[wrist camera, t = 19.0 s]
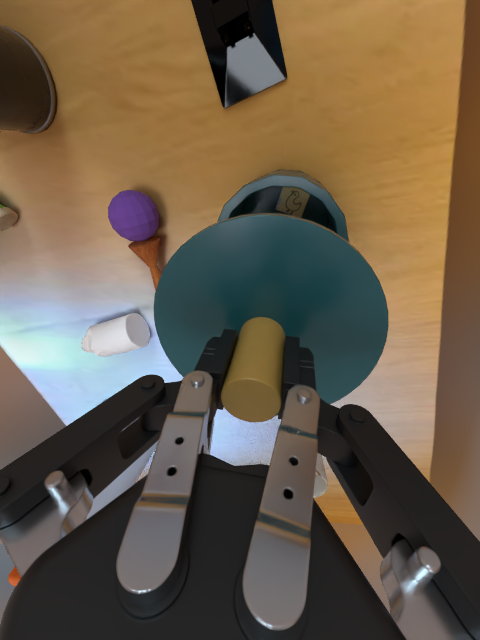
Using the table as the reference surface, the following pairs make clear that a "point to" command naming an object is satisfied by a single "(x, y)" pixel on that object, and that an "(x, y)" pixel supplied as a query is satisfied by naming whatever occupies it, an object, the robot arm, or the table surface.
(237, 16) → the black stand
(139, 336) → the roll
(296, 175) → the container
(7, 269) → the table surface
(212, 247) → the teal pot lid
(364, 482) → the robot arm
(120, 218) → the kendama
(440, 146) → the table surface
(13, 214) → the toy lion
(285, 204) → the alphabet block
